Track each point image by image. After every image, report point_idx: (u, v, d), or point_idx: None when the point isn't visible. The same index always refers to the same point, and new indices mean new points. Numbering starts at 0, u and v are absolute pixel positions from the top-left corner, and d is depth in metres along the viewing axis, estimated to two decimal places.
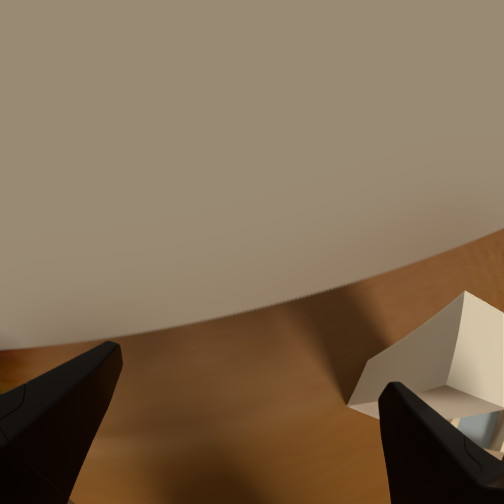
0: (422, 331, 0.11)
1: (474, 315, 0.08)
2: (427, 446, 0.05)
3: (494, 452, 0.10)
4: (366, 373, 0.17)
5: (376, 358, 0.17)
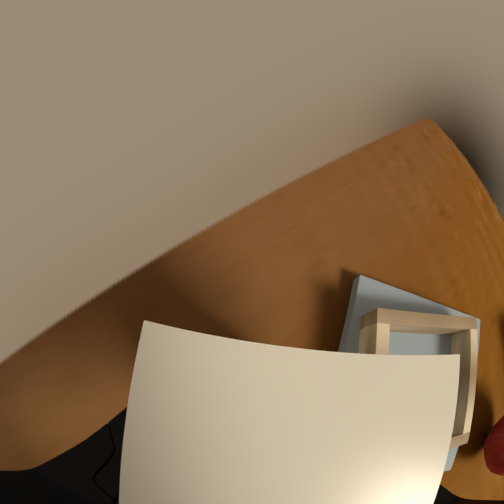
0: None
1: (197, 419, 0.02)
2: None
3: (454, 438, 0.10)
4: None
5: None
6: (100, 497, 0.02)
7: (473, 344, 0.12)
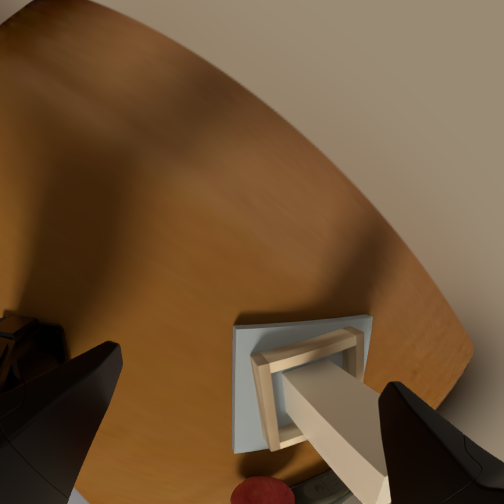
0: None
1: None
2: (427, 446, 0.05)
3: (277, 436, 0.18)
4: (319, 369, 0.19)
5: (337, 370, 0.18)
6: None
7: None
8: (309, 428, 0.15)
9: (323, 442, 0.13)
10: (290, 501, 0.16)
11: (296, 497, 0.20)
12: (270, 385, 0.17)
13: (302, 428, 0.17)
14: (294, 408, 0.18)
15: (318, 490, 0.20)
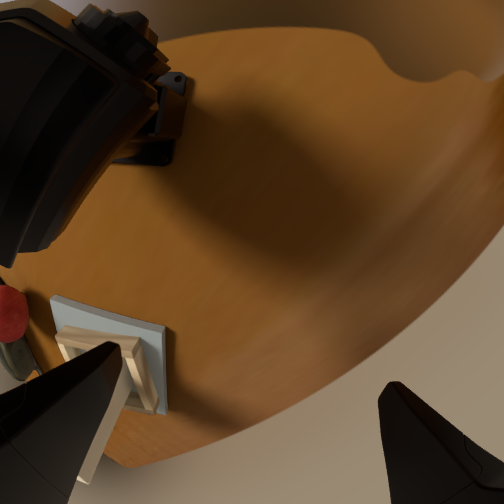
0: (100, 449, 0.15)
1: None
2: (427, 446, 0.05)
3: (69, 345, 0.19)
4: (126, 382, 0.21)
5: (125, 395, 0.21)
6: None
7: None
8: None
9: None
10: (9, 341, 0.17)
11: None
12: None
13: None
14: None
15: (17, 353, 0.22)
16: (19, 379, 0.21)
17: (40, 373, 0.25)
